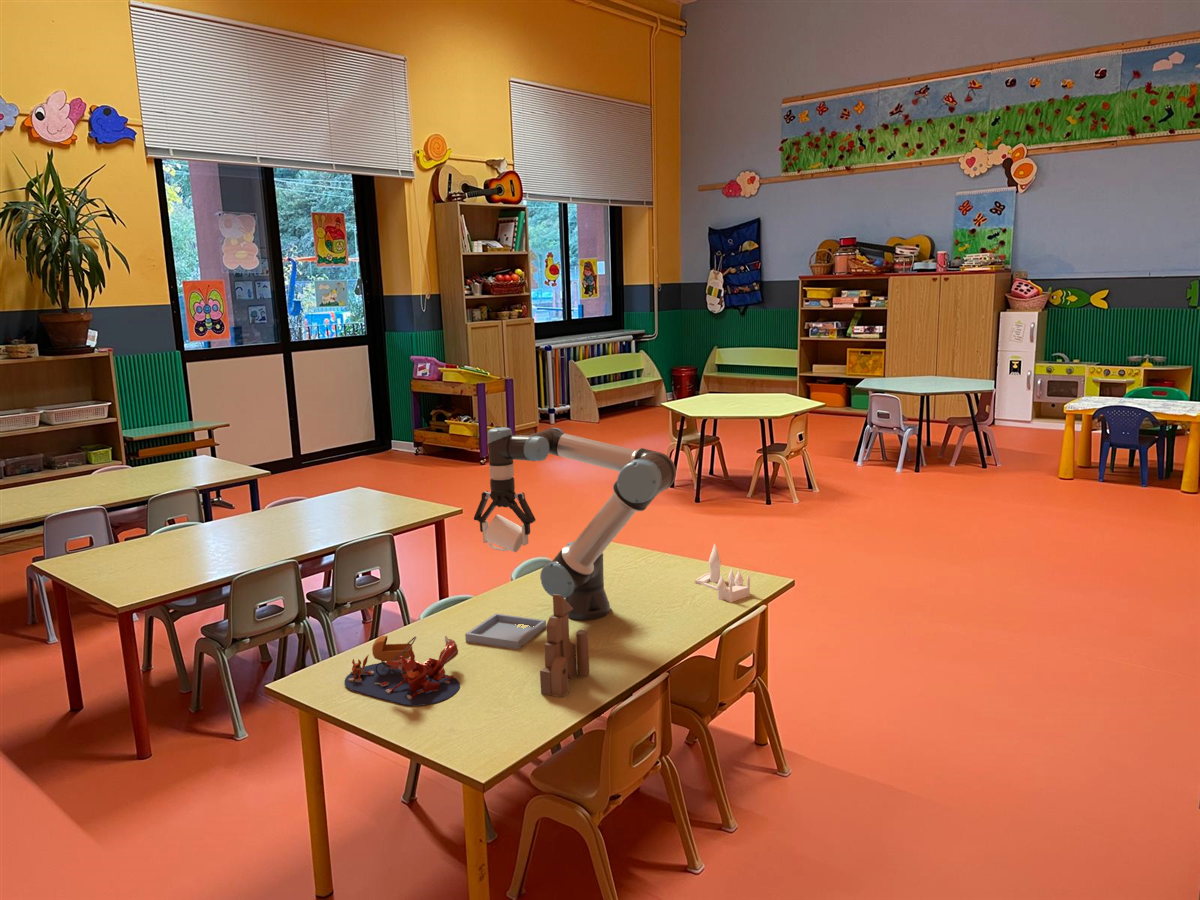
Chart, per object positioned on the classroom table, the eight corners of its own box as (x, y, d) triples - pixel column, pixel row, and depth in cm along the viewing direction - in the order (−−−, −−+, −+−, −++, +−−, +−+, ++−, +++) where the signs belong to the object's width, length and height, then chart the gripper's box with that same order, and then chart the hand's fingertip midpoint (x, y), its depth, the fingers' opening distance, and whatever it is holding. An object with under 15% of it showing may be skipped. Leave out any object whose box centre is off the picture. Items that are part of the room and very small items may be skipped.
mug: (530, 524, 281) (501, 511, 283) (519, 533, 273) (490, 519, 275) (519, 554, 285) (491, 540, 287) (509, 563, 277) (480, 549, 278)
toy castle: (709, 581, 316) (708, 537, 314) (760, 599, 296) (760, 553, 294) (678, 590, 308) (677, 545, 305) (728, 609, 288) (728, 562, 285)
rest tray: (546, 628, 276) (545, 620, 276) (518, 650, 260) (517, 641, 260) (496, 621, 284) (495, 613, 283) (465, 641, 267) (465, 633, 267)
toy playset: (329, 684, 242) (325, 635, 240) (396, 649, 264) (393, 604, 262) (427, 711, 224) (423, 659, 222) (490, 672, 247) (488, 624, 244)
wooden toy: (562, 698, 229) (558, 606, 224) (540, 693, 232) (536, 602, 227) (591, 675, 242) (588, 587, 238) (570, 670, 245) (567, 584, 241)
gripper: (543, 476, 275) (546, 542, 279) (471, 473, 284) (475, 537, 287) (533, 481, 268) (537, 548, 272) (460, 478, 277) (464, 544, 281)
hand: (505, 543), depth 280 cm, fingers closed on mug, 13 cm apart
